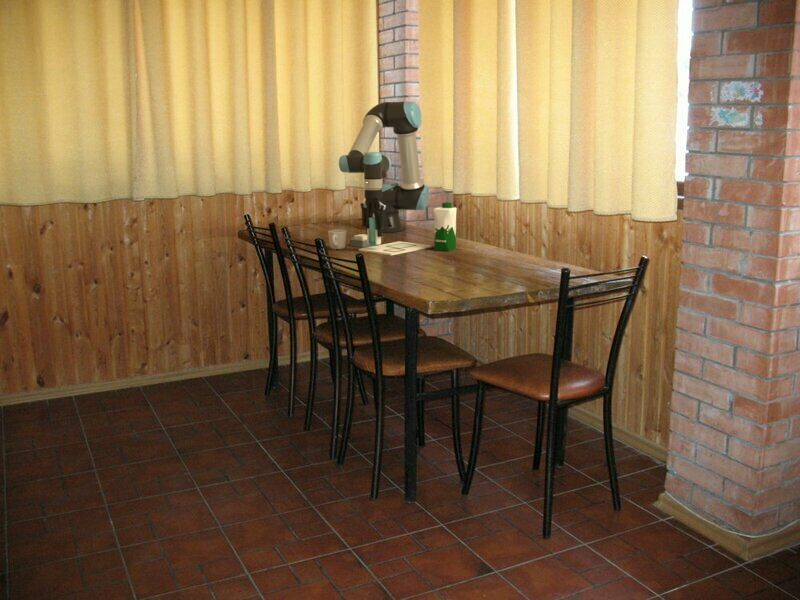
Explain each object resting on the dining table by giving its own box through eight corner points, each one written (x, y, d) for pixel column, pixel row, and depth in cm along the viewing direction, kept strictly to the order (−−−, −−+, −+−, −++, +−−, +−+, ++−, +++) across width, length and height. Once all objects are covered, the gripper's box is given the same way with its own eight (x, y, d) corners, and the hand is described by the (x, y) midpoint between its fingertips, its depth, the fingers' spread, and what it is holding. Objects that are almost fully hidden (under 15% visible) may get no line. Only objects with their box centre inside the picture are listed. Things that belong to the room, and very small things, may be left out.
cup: (342, 251, 375) (341, 233, 373) (324, 251, 376) (324, 232, 375) (348, 247, 385) (348, 229, 383) (331, 247, 387) (330, 229, 385)
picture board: (399, 243, 395) (399, 240, 394) (431, 247, 382) (431, 245, 382) (358, 250, 376) (358, 248, 376) (391, 255, 364) (391, 253, 363)
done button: (362, 240, 393) (362, 234, 392) (371, 241, 389) (370, 235, 389) (353, 242, 389) (353, 235, 388) (362, 243, 385) (362, 236, 385)
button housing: (362, 243, 395) (362, 236, 394) (375, 245, 390) (375, 238, 389) (349, 245, 389) (349, 239, 389) (362, 247, 384) (362, 240, 383)
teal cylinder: (374, 244, 378) (373, 216, 375) (381, 244, 375) (380, 217, 372) (368, 245, 375) (366, 217, 372) (375, 246, 372) (373, 218, 369)
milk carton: (458, 248, 378) (458, 202, 373) (449, 252, 370) (449, 205, 366) (440, 247, 382) (440, 201, 377) (431, 250, 374) (430, 204, 370)
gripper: (352, 188, 372) (354, 242, 377) (381, 190, 361) (382, 246, 366) (365, 187, 378) (366, 240, 383) (394, 189, 366) (394, 244, 372)
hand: (374, 243), depth 374 cm, fingers closed on teal cylinder, 4 cm apart
